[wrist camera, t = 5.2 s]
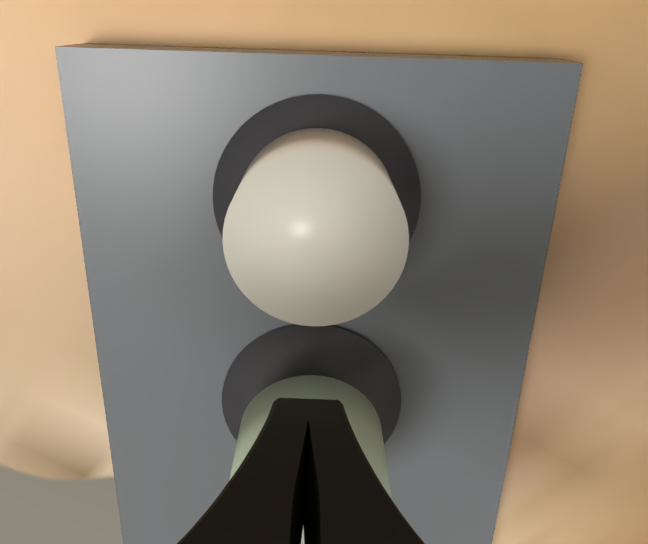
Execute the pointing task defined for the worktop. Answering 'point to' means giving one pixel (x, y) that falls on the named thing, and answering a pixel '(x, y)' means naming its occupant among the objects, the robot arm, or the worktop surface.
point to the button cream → (315, 229)
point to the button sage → (317, 387)
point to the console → (312, 341)
